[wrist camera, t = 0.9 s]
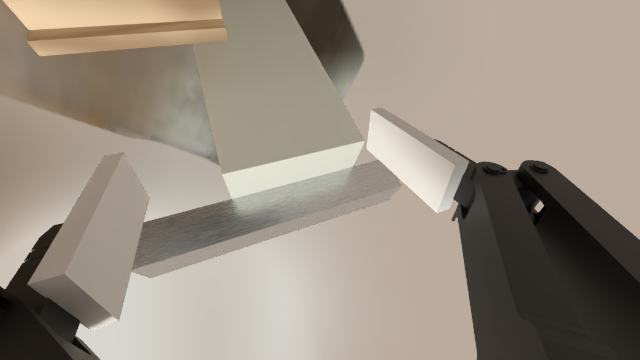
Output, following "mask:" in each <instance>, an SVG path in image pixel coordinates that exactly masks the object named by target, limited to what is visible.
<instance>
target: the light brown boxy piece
mask: <svg viewBox="0 0 640 360" xmlns="http://www.w3.org/2000/svg"><path fill="white" fill-rule="evenodd" d="M3 1H4V2H5V3H6V4H7V5H8V7H9V8H10V9H11V10H12V11H13V12H14V14H15V15H16V16H17V17H18V18H19V19H20V20H21V22H22V23H23V24H24V25H25V26H26V27H27V28H28V30H29V32H28V37H27V43H28V44H29V45H30V46H31V47H32V48H33V49H34V50H35V51H36V52H37V53H38V55H39V56H48V55H60V54H72V53H84V52H96V51H108V50H120V49H132V48H144V47H156V46H168V45H180V44H192V43H204V42H216V41H228V38H227V33H226V28H225V25H224V22H223V19H222V14H221V9H220V4H219V0H3Z"/></svg>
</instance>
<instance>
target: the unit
mask: <svg viewBox="0 0 640 360" xmlns="http://www.w3.org/2000/svg"><path fill="white" fill-rule="evenodd" d="M219 4H220V9H221V14H222V19H223V22H224V25H225V28H226V33H227V38H228V41H216V42H204V43H192V47H193V51H194V56H195V60H196V64H197V68H198V73H199V77H200V81H201V86H202V90H203V94H204V99H205V103H206V107H207V112H208V116H209V120H210V124H211V129H212V133H213V137H214V142H215V146H216V150H217V155H218V159H219V163H220V167H221V172H222V175H223V178H224V180H225V183H226V185H227V188H228V190H229V193H230V195H231V197H232V199H234V198H238V197H241V196H245V195H249V194H253V193H256V192H260V191H264V190H268V189H271V188H275V187H279V186H283V185H286V184H290V183H294V182H298V181H301V180H305V179H309V178H313V177H316V176H320V175H324V174H328V173H331V172H335V171H339V170H343V169H346V168H350V167H353V165H354V163H355V161H356V159H357V157H358V154H359V152H360V150H361V148H362V146H363V144H364V142H365V140H364V138H363V136H362V135H361V133H360V131H359V129H358V128H357V126H356V124H355V122H354V121H353V119H352V117H351V115H350V113H349V112H348V110H347V108H346V106H345V105H344V103H343V101H342V99H341V98H340V96H339V94H338V92H337V91H336V89H335V87H334V85H333V83H332V82H331V80H330V78H329V76H328V75H327V73H326V71H325V69H324V68H323V66H322V64H321V62H320V61H319V59H318V57H317V55H316V54H315V52H314V50H313V48H312V46H311V45H310V43H309V41H308V39H307V38H306V36H305V34H304V32H303V31H302V29H301V27H300V25H299V24H298V22H297V20H296V18H295V16H294V15H293V13H292V11H291V9H290V8H289V6H288V4H287V2H286V1H285V0H219Z"/></svg>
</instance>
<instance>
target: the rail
mask: <svg viewBox="0 0 640 360" xmlns="http://www.w3.org/2000/svg"><path fill="white" fill-rule="evenodd" d="M401 186H402V185H401V183H400V181H399V180H398V178H397V176H396V175H395V174H394V173H393V172H392V171H390V170H389V169H388V168H387V167H386V166H385V165H384V164H383V163H382V162H381V161H380V160H376V161H373V162H369V163H366V164H361V165H358V166H354V167H350V168H346V169H343V170H339V171H335V172H331V173H328V174H324V175H320V176H316V177H313V178H309V179H305V180H301V181H298V182H294V183H290V184H286V185H283V186H279V187H275V188H271V189H268V190H264V191H260V192H256V193H253V194H249V195H245V196H241V197H238V198H234V199H230V200H227V201H223V202H219V203H215V204H212V205H208V206H204V207H201V208H196V209H193V210H189V211H185V212H182V213H178V214H174V215H170V216H166V217H163V218H159V219H155V220H152V221H148V222H144V223H143V226H142V230H141V234H140V238H139V242H138V246H137V250H136V254H135V258H134V262H133V266H132V270H131V272H134V273H137V274H140V275H143V276H146V277H149V278H152V277H156V276H159V275H162V274H165V273H167V272H171V271H174V270H177V269H180V268H183V267H186V266H189V265H192V264H195V263H198V262H201V261H204V260H207V259H211V258H214V257H217V256H220V255H223V254H226V253H229V252H232V251H235V250H238V249H241V248H244V247H247V246H250V245H253V244H256V243H259V242H262V241H265V240H269V239H272V238H274V237H278V236H281V235H284V234H287V233H290V232H293V231H296V230H299V229H302V228H305V227H308V226H311V225H315V224H318V223H320V222H324V221H327V220H330V219H333V218H336V217H339V216H342V215H345V214H348V213H351V212H354V211H357V210H360V209H363V208H366V207H369V206H372V205H375V204H379V203H382V202H385V201H388V200H390V198H391V197H392V196H393V195H394V194H395V193H396V192H397V191H398V190H399V188H400V187H401Z"/></svg>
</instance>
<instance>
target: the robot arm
mask: <svg viewBox="0 0 640 360" xmlns="http://www.w3.org/2000/svg"><path fill="white" fill-rule="evenodd" d="M367 149H368V150H369V151H370V152H371V153H372V154H373V155H374V156H375V157H376V158H378V160H380V161H381V162H382V163H383V164H384V165H385V166H386V167H387V168H388V169H389V170H390V171H392V172H393V173H394V174H395V175H396V176H397V177H398V178H399V179H400V180H402V181H403V182H404V183H405V184H406V185H407V186H408V187H409V188H410V189H411V190H412V191H413V192H415V193H416V194H417V195H418V196H419V197H420V198H421V199H422V200H423V201H424V202H426V204H428V205H429V206H430V207H431V208H432V209H433V210H434V211H435V212H436V213H438V212H441V211H444V210H447V209H449V208H450V206H451V204H452V201H453V199H454V200H456V201H457V202H458V203H459V204H458V206H457V209H456V211H455V213H454V215H453V217H452V221H455V218H457V217H458V223H459V229H460V236H461V243H462V250H463V257H464V264H465V271H466V278H467V285H468V292H469V299H470V306H471V313H472V319H473V327H474V334H475V341H476V348H477V360H640V240H639V239H638V238H637V237H636V236H634V235H633V234H632V233H631V232H630V231H628V230H627V229H626V228H625V227H623V225H621V224H620V223H619V222H618V221H617V220H615V219H614V218H613V217H612V216H611V215H610V214H608V213H607V212H606V211H605V210H603V209H602V208H601V207H600V206H599V205H598V204H597V203H595V202H594V201H593V200H592V199H591V198H589V197H588V196H587V195H586V194H585V193H583V192H582V191H581V190H580V189H579V188H577V187H576V186H575V185H574V184H573V183H571V181H569V180H568V179H567V178H566V177H565V176H563V175H562V174H561V173H560V172H559V171H557V170H556V169H555V168H553V167H552V166H550V165H548V164H546V163H544V162H540V161H533V160H528V161H524V162H522V164H521V166H520V167H519V169H518V170H507V169H506V168H504V167H503V166H501V165H498V164H495V163H491V162H479V163H478V164H477V163H475V162H474V161H472V160H470V159H469V158H467V157H465V156H464V155H462V154H461V153H459V152H457V151H455V150H454V149H452V148H451V147H448V146H447V145H446V144H444V143H442V142H441V141H438V140H435V139H432V138H431V137H429V136H427V135H426V134H424V133H422V132H421V131H419V130H418V129H416V128H414V127H413V126H411V125H409V124H408V123H406V122H405V121H403V120H401V119H400V118H398V117H396V116H395V115H393V114H391V113H390V112H388V111H386V110H385V109H383V108H377V109H372V110H371V116H370V125H369V134H368V142H367ZM540 200H541V202H542V203H543V204H544V207H543V208H542V210H541V211H540V212H539V213H538V212H537V211H536V210H535V209H534V208H535V206H536V205H537V204H538V202H539V201H540ZM148 202H149V196H148V194H147V192H146V190H145V189H144V187H143V185H142V184H141V182H140V180H139V178H138V177H137V175H136V173H135V171H134V170H133V168H132V166H131V165H130V163H129V161H128V159H127V158H126V156H125V154H124V153H118V154H112V155H106V156H104V157H103V158H102V160H101V162H100V163H99V165H98V167H97V168H96V170H95V172H94V173H93V175H92V177H91V178H90V180H89V182H88V183H87V185H86V187H85V189H84V190H83V192H82V193H81V195H80V197H79V198H78V200H77V202H76V203H75V205H74V207H73V208H72V210H71V212H70V214H69V215H68V217H67V219H66V220H65V222H64V223H62V224H58V225H54V226H53V227H51V228H50V229H49V230H48V231H47V232H45V233H44V234H43V235H42V236H41V237H40V238H39V239H38V241H37V242H36V244H35V245H34V247H33V248H32V252H30V253H29V254H28V256H27V258H26V259H25V260H24V261H25V263H23V264H22V265H21V266H20V268H19V269H18V271H17V273H16V274H15V275H14V277H13V278H12V280H11V281H10V283H9V285H8V286H7V288H6V289H3V288H2V287H0V360H100V359H99V358H98V357H97V356H96V355H95V354H94V353H93V352H92V351H91V349H90V348H89V347H88V346H87V345H86V344H85V343H84V342H83V341H82V340H81V339H79V338H78V337H76V336H75V335H76V332H77V329H78V326H79V324H80V323H81V324H83V325H84V326H85V327H87V328H88V329H90V330H94V329H97V328H100V327H103V326H106V325H109V324H112V323H115V322H118V321H119V318H120V314H121V311H122V306H123V302H124V298H125V294H126V290H127V286H128V282H129V278H130V274H131V270H132V266H133V262H134V258H135V254H136V250H137V246H138V242H139V238H140V234H141V230H142V226H143V222H144V217H145V214H146V210H147V206H148Z"/></svg>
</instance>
